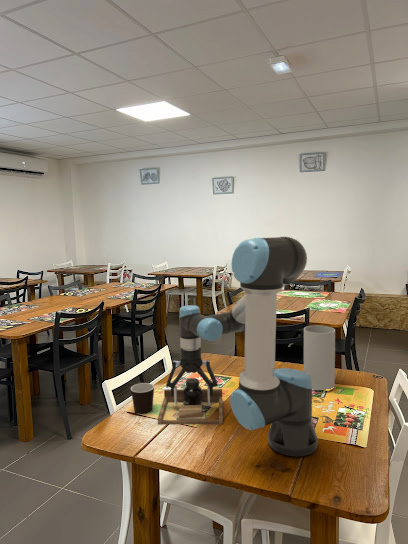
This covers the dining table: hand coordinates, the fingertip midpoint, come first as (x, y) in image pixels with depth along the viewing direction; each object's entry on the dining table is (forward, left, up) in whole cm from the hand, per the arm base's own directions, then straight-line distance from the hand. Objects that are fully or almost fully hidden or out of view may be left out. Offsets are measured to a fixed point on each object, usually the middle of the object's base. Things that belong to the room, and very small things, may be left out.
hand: (192, 403), depth 148 cm
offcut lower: (-9, 0, -3) cm, 9 cm away
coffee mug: (0, +18, -3) cm, 18 cm away
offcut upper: (-8, 0, 0) cm, 8 cm away
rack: (-3, 0, -3) cm, 4 cm away
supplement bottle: (0, 0, -3) cm, 3 cm away
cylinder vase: (+21, -52, -3) cm, 56 cm away
